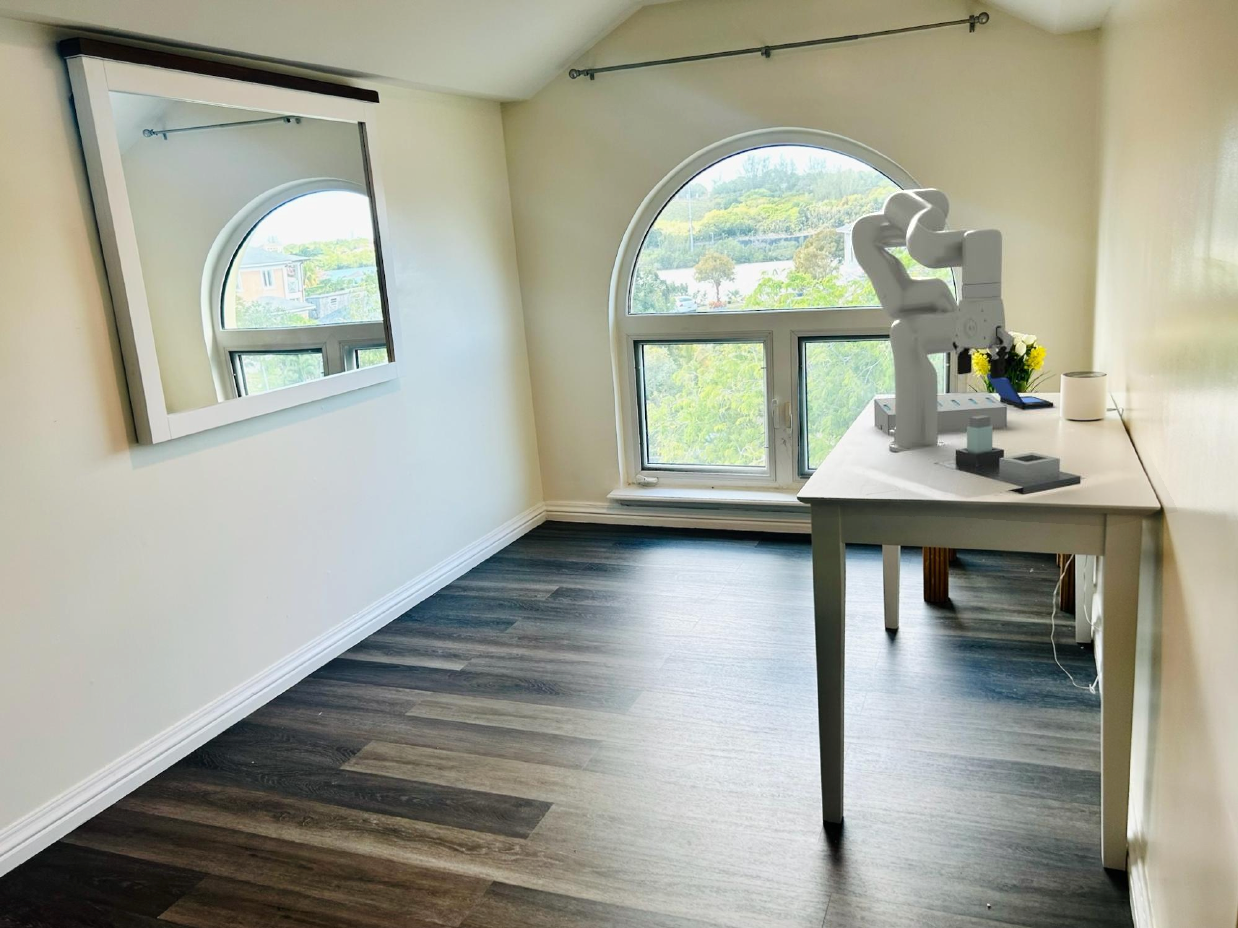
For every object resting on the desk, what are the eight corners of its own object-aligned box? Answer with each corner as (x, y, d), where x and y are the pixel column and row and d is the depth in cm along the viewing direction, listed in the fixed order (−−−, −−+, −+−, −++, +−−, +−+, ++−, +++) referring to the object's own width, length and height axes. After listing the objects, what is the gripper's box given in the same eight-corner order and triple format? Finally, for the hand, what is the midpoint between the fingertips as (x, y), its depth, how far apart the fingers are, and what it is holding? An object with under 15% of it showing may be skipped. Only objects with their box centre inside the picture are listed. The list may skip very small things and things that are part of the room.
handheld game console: (1055, 408, 266) (1056, 375, 264) (1007, 412, 266) (1007, 379, 264) (1030, 400, 281) (1031, 368, 279) (985, 403, 281) (985, 372, 279)
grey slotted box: (888, 436, 246) (887, 407, 244) (874, 427, 260) (874, 399, 258) (1006, 428, 245) (1006, 399, 243) (986, 419, 259) (986, 391, 257)
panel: (933, 470, 206) (933, 447, 205) (986, 461, 210) (986, 438, 209) (1023, 494, 182) (1023, 468, 181) (1080, 483, 186) (1081, 458, 185)
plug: (967, 463, 203) (967, 417, 201) (982, 461, 204) (982, 414, 202) (976, 466, 200) (977, 419, 198) (992, 463, 201) (992, 416, 199)
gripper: (938, 293, 201) (938, 374, 205) (997, 294, 185) (996, 382, 189) (967, 290, 204) (966, 370, 207) (1027, 291, 188) (1026, 377, 191)
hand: (980, 375), depth 198 cm, fingers open, 9 cm apart
